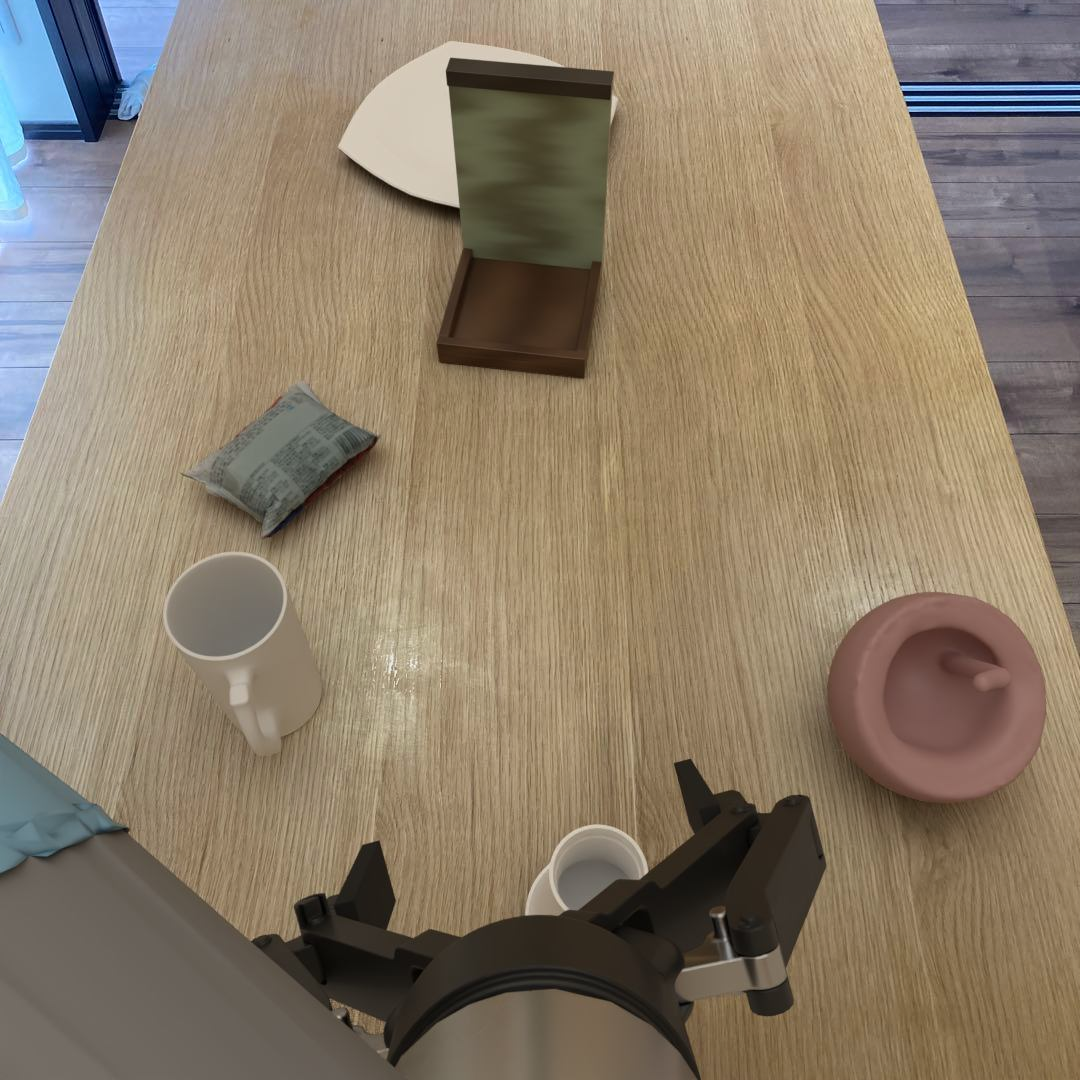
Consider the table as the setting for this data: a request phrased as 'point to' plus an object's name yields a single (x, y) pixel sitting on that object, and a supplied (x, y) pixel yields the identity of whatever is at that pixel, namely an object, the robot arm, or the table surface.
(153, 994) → the robot arm
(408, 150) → the plate
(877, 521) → the table surface
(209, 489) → the packaged food
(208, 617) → the mug
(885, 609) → the mortar and pestle
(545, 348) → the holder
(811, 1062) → the table surface
